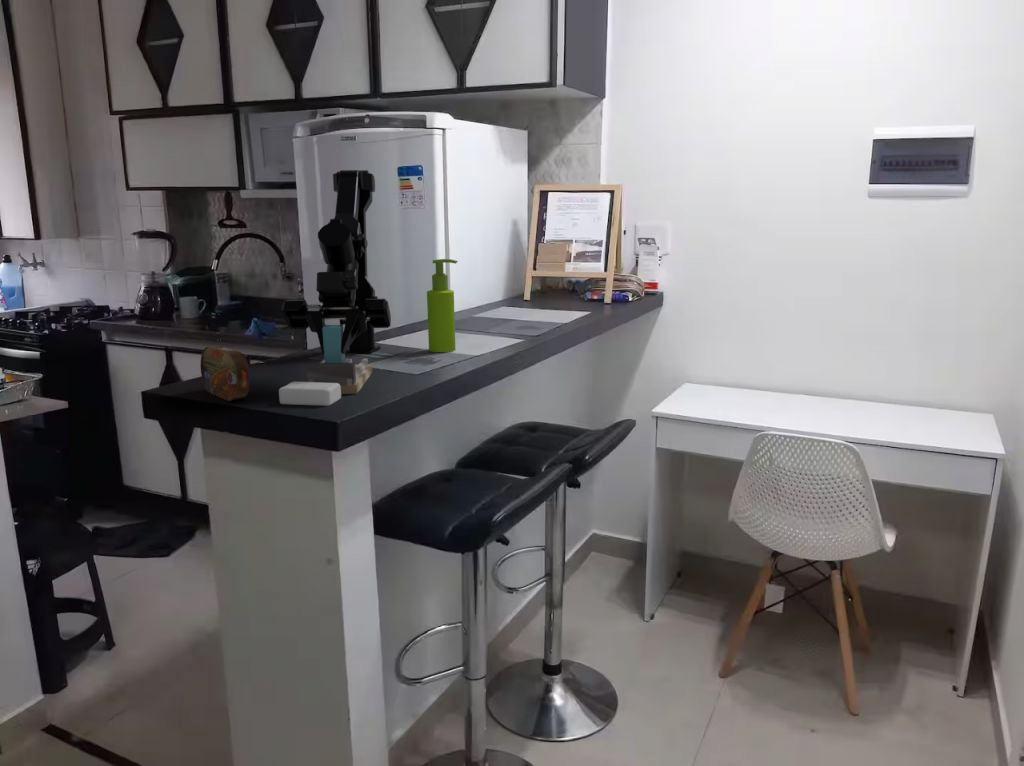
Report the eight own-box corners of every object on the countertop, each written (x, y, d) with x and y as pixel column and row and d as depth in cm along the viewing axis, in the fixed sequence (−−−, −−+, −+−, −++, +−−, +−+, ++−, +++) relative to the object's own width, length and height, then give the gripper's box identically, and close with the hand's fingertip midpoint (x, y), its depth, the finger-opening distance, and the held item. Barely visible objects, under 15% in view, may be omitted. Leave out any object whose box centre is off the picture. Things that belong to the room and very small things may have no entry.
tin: (201, 390, 135) (196, 343, 133) (218, 387, 137) (213, 341, 136) (237, 405, 125) (232, 355, 123) (255, 402, 127) (250, 352, 125)
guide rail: (325, 372, 148) (324, 347, 146) (372, 372, 148) (370, 346, 147) (304, 394, 131) (302, 366, 130) (357, 393, 131) (355, 365, 130)
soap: (342, 399, 129) (341, 382, 128) (329, 407, 124) (328, 389, 123) (293, 397, 131) (292, 380, 130) (278, 405, 125) (276, 387, 125)
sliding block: (325, 375, 138) (321, 324, 136) (352, 374, 138) (349, 323, 136) (319, 381, 133) (315, 328, 131) (347, 381, 133) (344, 328, 131)
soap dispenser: (459, 352, 166) (456, 260, 161) (427, 352, 166) (424, 260, 161) (460, 347, 172) (458, 258, 167) (430, 347, 172) (427, 258, 167)
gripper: (279, 254, 134) (267, 326, 126) (385, 253, 135) (379, 324, 127) (294, 293, 144) (283, 363, 136) (393, 292, 144) (388, 361, 136)
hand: (332, 352), depth 133 cm, fingers closed on sliding block, 3 cm apart
